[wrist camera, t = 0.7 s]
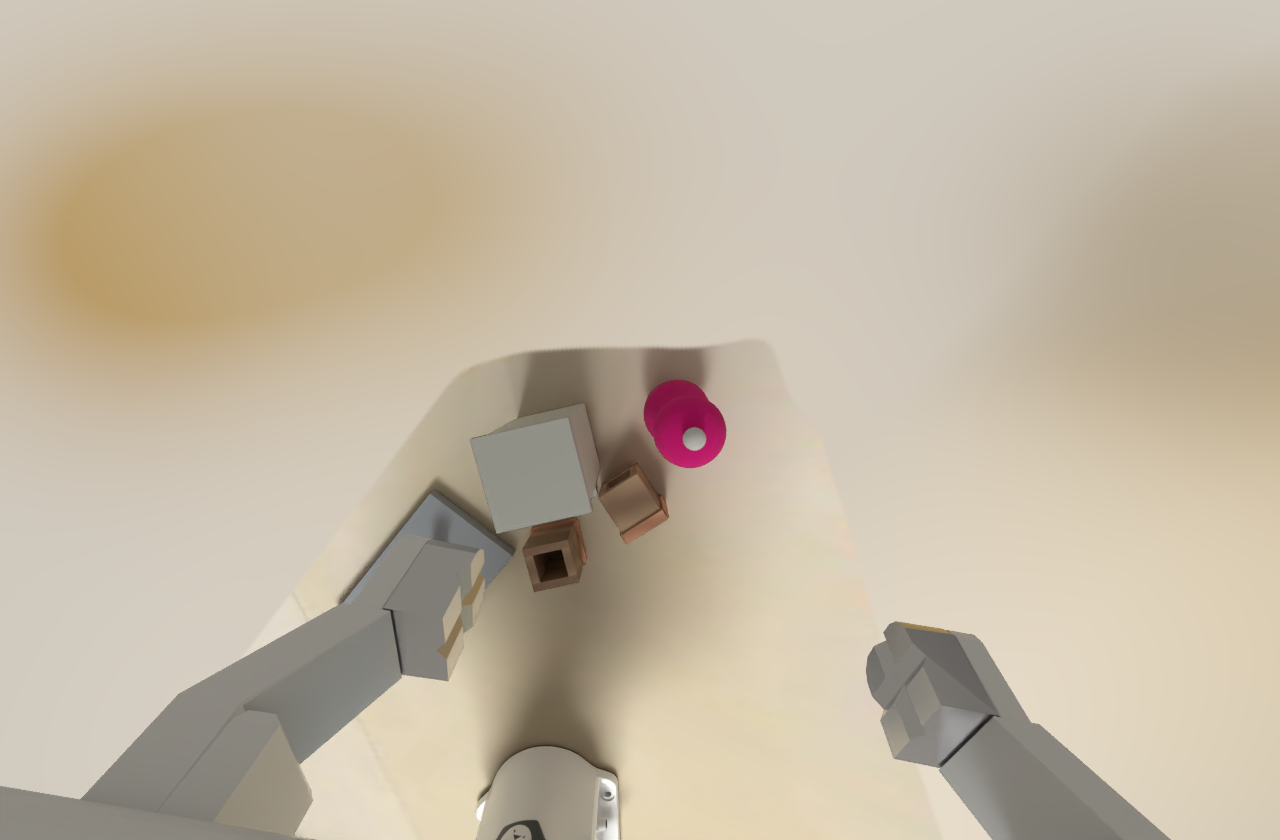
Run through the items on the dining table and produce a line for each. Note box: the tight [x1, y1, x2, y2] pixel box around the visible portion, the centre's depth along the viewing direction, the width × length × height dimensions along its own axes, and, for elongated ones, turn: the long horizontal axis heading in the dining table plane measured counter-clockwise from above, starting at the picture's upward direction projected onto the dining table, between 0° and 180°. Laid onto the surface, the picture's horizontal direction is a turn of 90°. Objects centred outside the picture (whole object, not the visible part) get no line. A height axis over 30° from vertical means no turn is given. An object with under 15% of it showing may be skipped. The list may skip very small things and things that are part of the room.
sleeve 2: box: [598, 463, 669, 544], centre depth 53 cm, size 6×6×5 cm
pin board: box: [343, 490, 515, 604], centre depth 55 cm, size 12×20×6 cm, turn 140°
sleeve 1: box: [523, 518, 587, 592], centre depth 54 cm, size 6×6×6 cm
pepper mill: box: [644, 380, 726, 468], centre depth 45 cm, size 7×7×20 cm
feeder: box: [470, 403, 600, 534], centre depth 48 cm, size 11×9×15 cm
